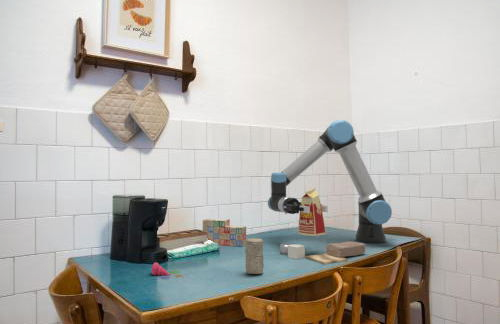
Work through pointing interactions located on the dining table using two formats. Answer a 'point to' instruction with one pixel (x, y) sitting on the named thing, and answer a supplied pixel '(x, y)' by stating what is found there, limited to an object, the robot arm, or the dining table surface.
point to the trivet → (326, 258)
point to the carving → (254, 256)
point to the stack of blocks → (224, 232)
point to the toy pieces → (163, 271)
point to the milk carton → (311, 215)
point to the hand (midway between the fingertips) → (318, 209)
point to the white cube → (296, 251)
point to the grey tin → (284, 249)
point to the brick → (345, 249)
